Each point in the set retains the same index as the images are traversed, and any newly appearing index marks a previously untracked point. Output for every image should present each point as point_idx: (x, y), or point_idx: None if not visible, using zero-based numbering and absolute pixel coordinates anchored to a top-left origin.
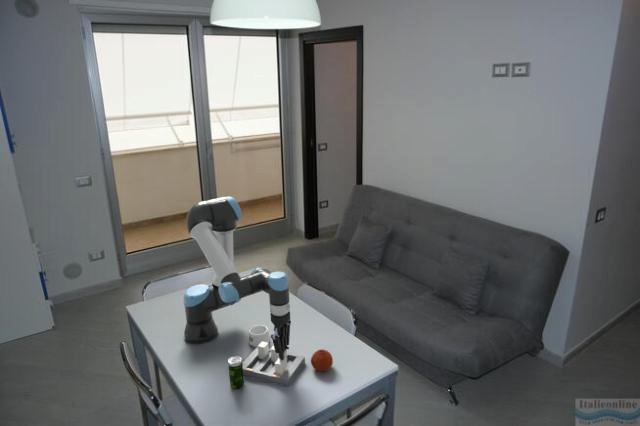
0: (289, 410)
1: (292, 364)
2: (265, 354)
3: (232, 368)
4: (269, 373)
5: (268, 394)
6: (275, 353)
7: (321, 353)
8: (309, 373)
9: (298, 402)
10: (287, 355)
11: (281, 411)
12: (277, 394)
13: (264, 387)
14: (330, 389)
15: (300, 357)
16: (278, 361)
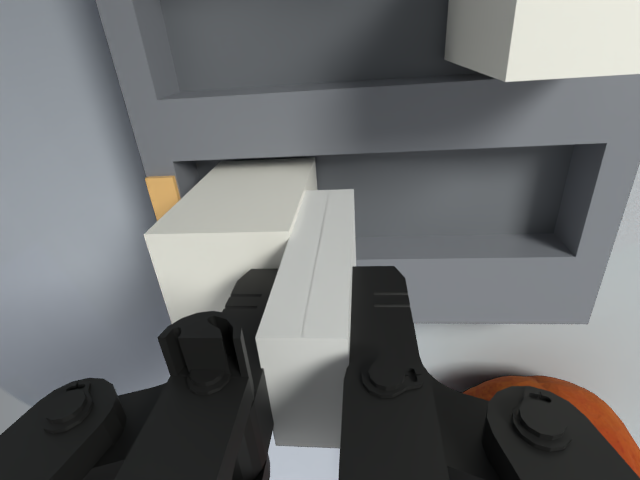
0: (51, 367)
1: (416, 271)
2: None
3: None
4: (165, 116)
5: (54, 190)
6: (484, 30)
7: None
8: (419, 352)
9: (133, 384)
10: (584, 143)
11: (11, 335)
12: (101, 251)
13: (90, 110)
14: (319, 476)
15: (564, 294)
16: (212, 266)
